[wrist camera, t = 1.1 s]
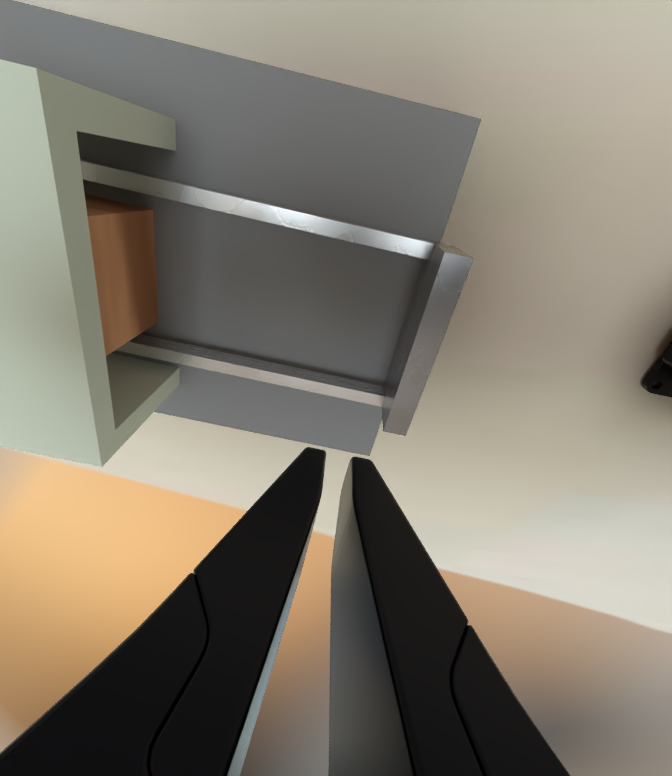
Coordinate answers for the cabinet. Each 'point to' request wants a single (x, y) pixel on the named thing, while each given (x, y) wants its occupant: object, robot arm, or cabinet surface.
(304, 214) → the silver flat rectangular frame
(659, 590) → the cabinet surface
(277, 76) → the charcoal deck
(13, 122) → the pale green tunnel
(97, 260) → the terracotta block
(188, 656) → the robot arm
